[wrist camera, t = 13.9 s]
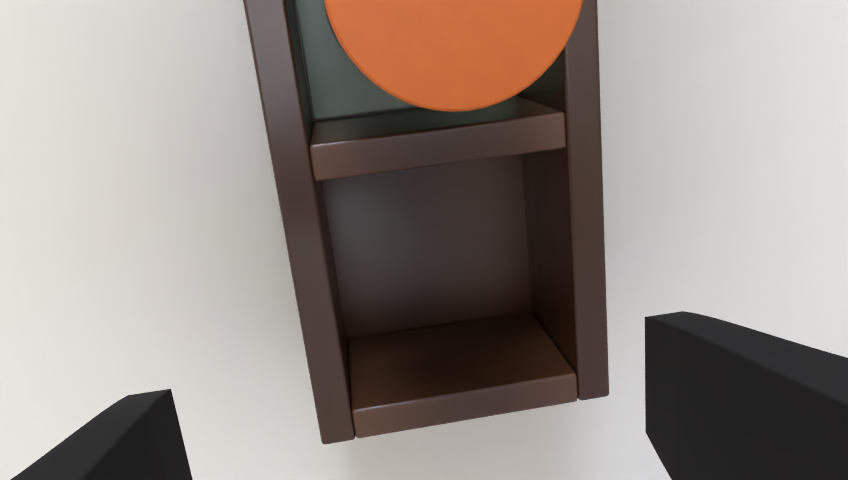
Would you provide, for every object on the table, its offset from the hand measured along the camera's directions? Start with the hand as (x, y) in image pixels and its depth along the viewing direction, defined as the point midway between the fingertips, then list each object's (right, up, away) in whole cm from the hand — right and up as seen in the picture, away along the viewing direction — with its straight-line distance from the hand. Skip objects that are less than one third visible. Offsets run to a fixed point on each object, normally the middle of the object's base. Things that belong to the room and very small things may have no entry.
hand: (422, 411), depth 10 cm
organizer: (0, +6, +8) cm, 10 cm away
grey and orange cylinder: (0, +9, +7) cm, 11 cm away
